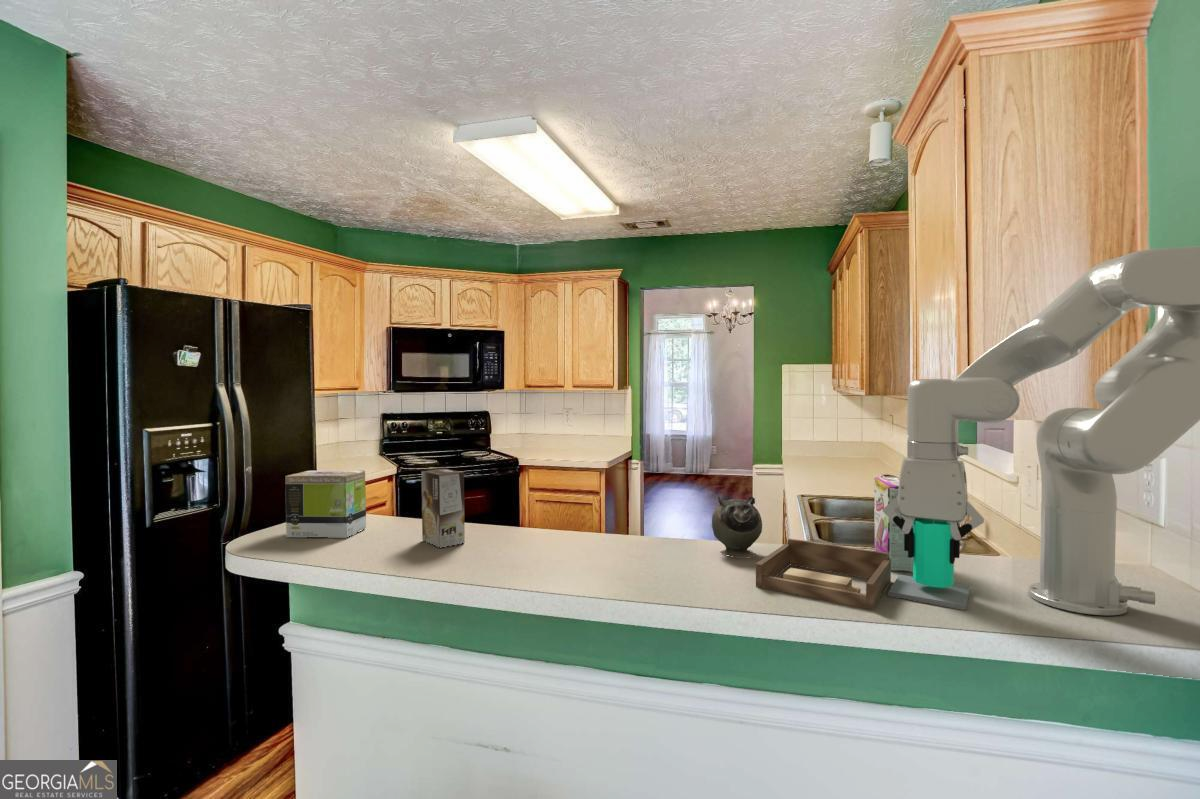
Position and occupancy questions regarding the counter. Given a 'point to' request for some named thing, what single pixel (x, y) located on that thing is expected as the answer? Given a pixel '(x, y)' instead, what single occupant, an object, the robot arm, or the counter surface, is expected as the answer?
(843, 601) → the wooden tray
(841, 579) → the offcut stack
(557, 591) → the counter surface
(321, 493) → the tea box
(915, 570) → the candle
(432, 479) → the coffee box
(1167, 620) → the counter surface
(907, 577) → the mat
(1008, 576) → the counter surface
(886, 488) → the candy bar box
